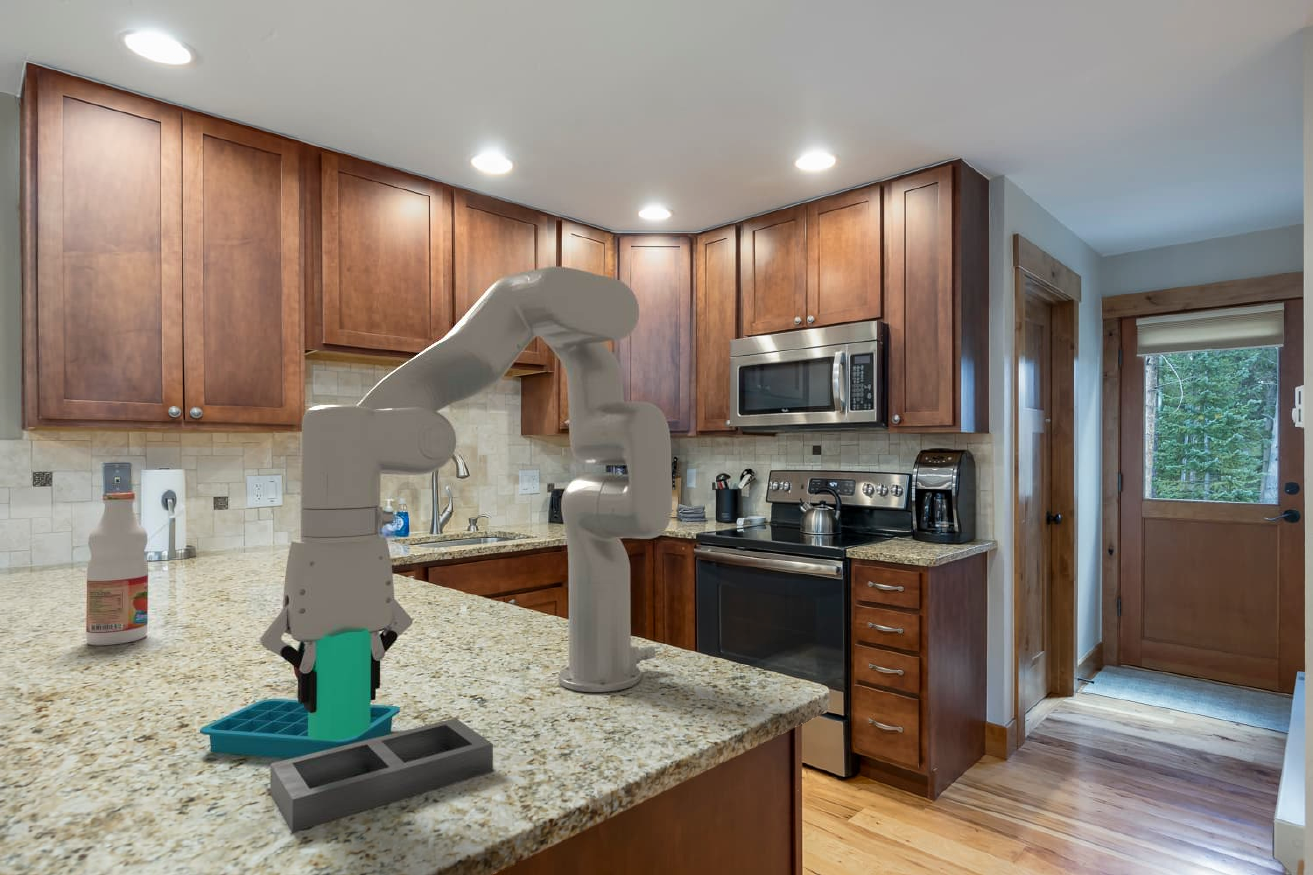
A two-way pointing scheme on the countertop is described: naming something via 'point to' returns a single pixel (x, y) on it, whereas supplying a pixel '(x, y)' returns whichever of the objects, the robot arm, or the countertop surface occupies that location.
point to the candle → (342, 686)
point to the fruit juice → (117, 575)
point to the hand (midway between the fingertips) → (339, 701)
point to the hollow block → (377, 772)
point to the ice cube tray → (283, 730)
